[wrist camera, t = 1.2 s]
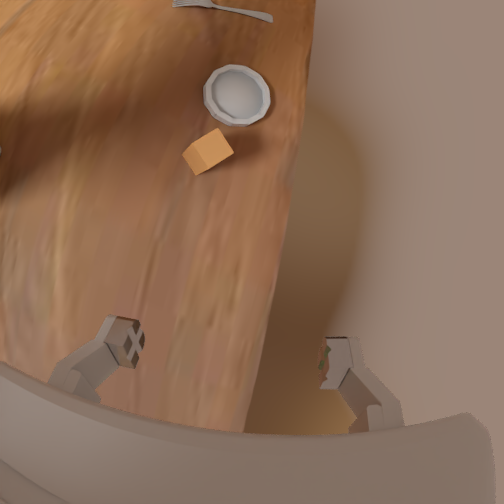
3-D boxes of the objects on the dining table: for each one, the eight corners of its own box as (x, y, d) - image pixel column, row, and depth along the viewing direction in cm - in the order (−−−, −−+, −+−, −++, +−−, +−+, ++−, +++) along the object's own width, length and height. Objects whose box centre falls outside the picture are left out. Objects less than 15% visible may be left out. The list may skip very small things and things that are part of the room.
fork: (267, 30, 44) (275, 24, 42) (168, 9, 34) (172, 1, 32) (267, 20, 44) (274, 14, 42) (169, -1, 34) (174, -9, 31)
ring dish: (191, 84, 39) (193, 80, 37) (244, 60, 41) (248, 56, 40) (226, 137, 43) (229, 135, 41) (276, 110, 45) (281, 107, 44)
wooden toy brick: (181, 154, 40) (192, 142, 33) (203, 140, 41) (218, 127, 34) (195, 175, 42) (209, 168, 34) (216, 161, 43) (234, 152, 35)
